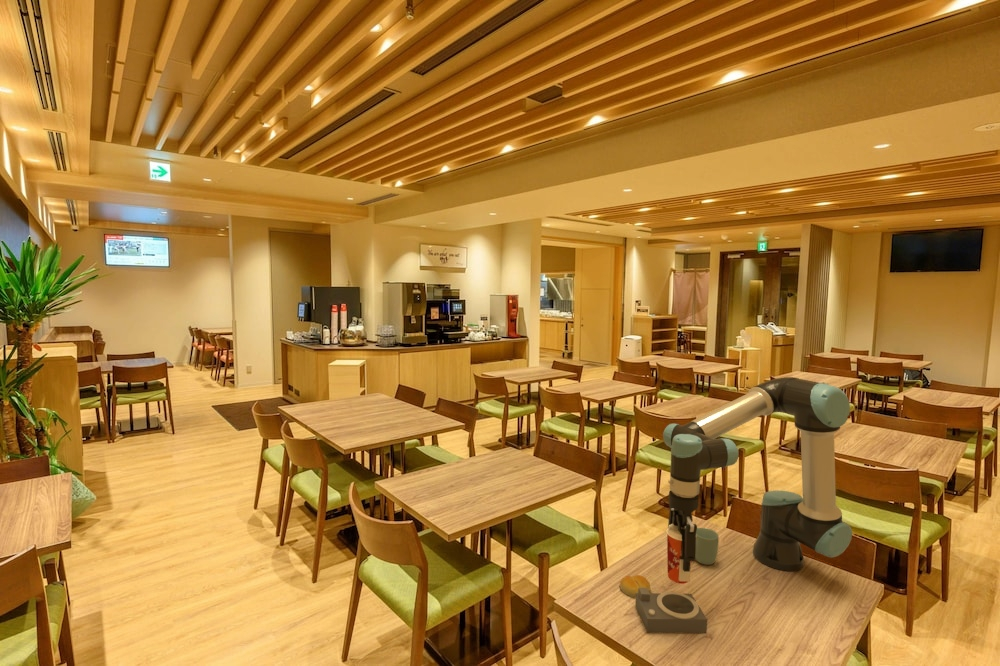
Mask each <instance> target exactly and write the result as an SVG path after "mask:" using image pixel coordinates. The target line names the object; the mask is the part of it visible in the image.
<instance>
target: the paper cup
mask: <svg viewBox="0 0 1000 666" xmlns="http://www.w3.org/2000/svg"><path fill="white" fill-rule="evenodd" d="M682 529H685V528H682ZM665 533H666V534H667V538H666V540H667V543H666V545H667V546H666V547H667V549H666V551H667V552H666V554H667V556H666V557H667V558H666V559H667V577H668V579H669V580H670V581H672V582H673V583H677V584H686V583H689V581H679V565H680V559H679V557H682V554H681V542H682V535H681V534H680V532H679V531H678V526H675V525H674V524H670V525H669V526H668V525H667V528H666V530H665ZM692 563H693V561H691V564H692ZM691 569H692V567H691V568H690V571H691Z"/></svg>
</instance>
